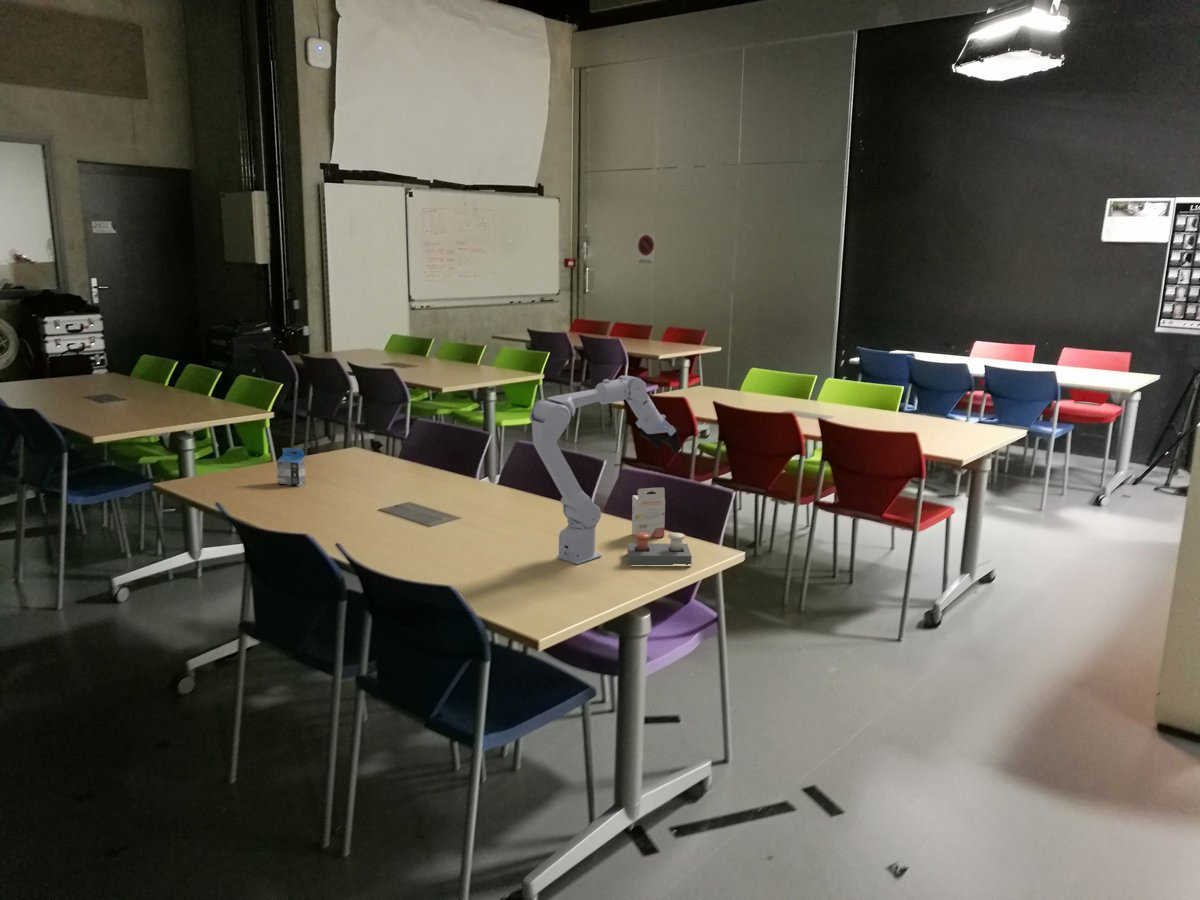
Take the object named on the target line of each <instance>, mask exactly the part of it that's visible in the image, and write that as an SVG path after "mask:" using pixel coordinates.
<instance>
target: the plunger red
mask: <svg viewBox="0 0 1200 900" xmlns="http://www.w3.org/2000/svg"><path fill="white" fill-rule="evenodd" d="M633 537H634V538H635V539H636V543H637V545H636V549H638V550H647V549H648V543H649V539H652V538H651V534H649V533H646V532H638V533H635V534H634V536H633Z"/></svg>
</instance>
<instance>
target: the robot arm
mask: <svg viewBox="0 0 1200 900" xmlns="http://www.w3.org/2000/svg"><path fill="white" fill-rule="evenodd" d="M622 401H626V402H627V404H628V405H629V407H630V409H631V410H632V411H633V413H634V415H635V416H636V418H637V420H636V422H635V424H636V426H637V427H638V429H640V431H639V432H638V435H639V436H641V437H643V438H645V439H646V440H647V441H649V442H650V443H651V444H652V445H653V446H654V447H655V448H656V449H660V448H662V446H663V444H666V445H667V446H668V448H669V449H670V450H671V451H672V452H673V453H674V454H677V453H678V452H679V451H680V450H681V444H680V440H679V428H678V427H677V426H676V425H671V424H670V423H669V422H668V421H667V420H666V418H667V416H666V415H665V414H662V413H660V412H659V410H658V409H657V407H656V406H655V405H656V404H654V402H653V400H652V399H651V398H650V396H649V394H648V392H647V383H646V382H645V381H644V380H642V378H640V377H636V376H632V375H631V376H630V375H622V374H621V375H620V376H618V377H617V379H612V380H610V379H608V378H605V379H603V380H602V382H599V383H597V384H596V386H595V388H593V389H588V390H587V389H586V390H582V391H575V392H569V393H564V394H559V395H553V396H549V397H547V398H546V399H539V400H537V401H535V403H534V404H533V406H532V408H531V411H530V413H529V417H528V419H529V420H530V422H531V430H532V444H533V447H534V448H535V450H536V451H537V454H538V456H539V457H540V460H542V462H543V464H544V466H545V468H546V470H547V472H548V473H549V475H550V476H551V479H552V480H553V482H554V485H555V486H556V487H557V489H558V491H559V493H560V495H561V496H562V497H561V498H560V503H561V504H562V511H563V512H562V513H563V515H564V516H565V518H567V519H566V520H567V521H566V522H567V526H566V527H565V528H563V529H562V530H561V531H560V532H559V534H558V554H557V555H556V558H559V559H561V560H563V561H567V562H570V563H572V564H575V565H579V564H583V563H586V562H589V561H592V560H594V559H597V558H601V557H603V555H602V554H601V553H597V552H596V527H597V524H599V522H600V520H601V517H602V511H601V508H600V507H599V506H598V504H596V503H594V502H593V501H592V499H591V497H590V496H589V495H588V494H587V493H585V491H584V490H583V489H582V486H580V484H579V482H578V480H577V477H575V475H574V473H573V471H572V469H571V467H570V465H569V464H568V462H567V460H566V458H565V456H564V455H563V453H562V451H561V449H560V447H559V445H558V443H557V442H558V441H559V439H560V438H561V436H562V434H563V433H564V432H565V430H566V428H567V427H568V426H569V423H570V422H571V417H574V416H575V413H576V409H577V408H580V407H584V406H587V405H590V404H593V403H597V402H598V403H599V404H601V405H604V406H605V405H608V404H613V403H617V402H622ZM660 434H662V435H661V436H660Z"/></svg>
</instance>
